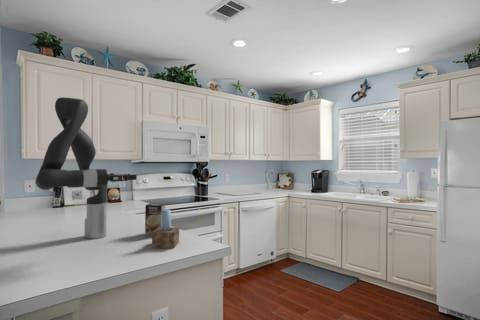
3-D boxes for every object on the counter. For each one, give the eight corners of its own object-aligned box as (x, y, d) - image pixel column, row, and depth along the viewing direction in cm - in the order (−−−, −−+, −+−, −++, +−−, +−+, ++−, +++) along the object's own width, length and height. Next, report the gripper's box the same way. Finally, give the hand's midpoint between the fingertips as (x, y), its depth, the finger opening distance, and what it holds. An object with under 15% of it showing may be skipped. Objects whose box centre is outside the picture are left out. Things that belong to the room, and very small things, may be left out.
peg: (160, 241, 129) (160, 210, 129) (162, 239, 133) (163, 209, 133) (168, 241, 129) (169, 211, 129) (171, 239, 133) (171, 209, 133)
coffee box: (144, 235, 148) (144, 205, 148) (149, 232, 154) (149, 203, 154) (161, 236, 147) (161, 205, 147) (165, 233, 153) (165, 203, 153)
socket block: (151, 247, 126) (152, 232, 126) (158, 241, 136) (158, 227, 136) (174, 248, 126) (174, 232, 126) (179, 241, 136) (179, 227, 136)
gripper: (98, 169, 113) (138, 169, 123) (90, 168, 124) (128, 168, 134) (98, 188, 113) (138, 186, 123) (90, 185, 124) (128, 183, 134)
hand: (133, 176), depth 129 cm, fingers open, 8 cm apart
